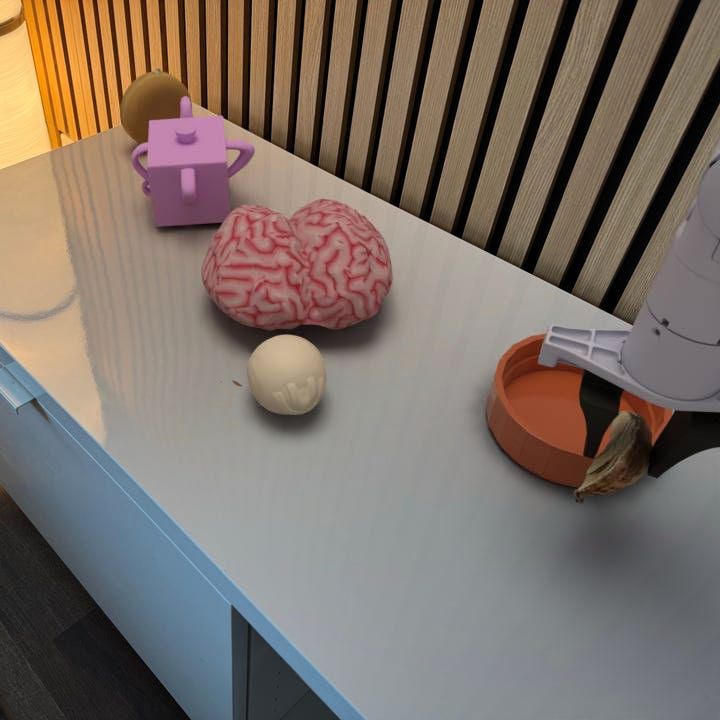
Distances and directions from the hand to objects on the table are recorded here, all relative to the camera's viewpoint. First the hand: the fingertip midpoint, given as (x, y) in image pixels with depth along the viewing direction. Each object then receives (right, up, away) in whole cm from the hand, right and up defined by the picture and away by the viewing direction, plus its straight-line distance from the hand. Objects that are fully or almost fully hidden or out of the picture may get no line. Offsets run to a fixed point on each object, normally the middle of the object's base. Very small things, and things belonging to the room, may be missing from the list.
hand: (621, 456), depth 52 cm
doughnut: (-37, +35, +48) cm, 70 cm away
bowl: (+2, +1, +13) cm, 13 cm away
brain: (-21, +13, +26) cm, 36 cm away
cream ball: (-22, +3, +16) cm, 27 cm away
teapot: (-31, +26, +38) cm, 56 cm away
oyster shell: (-1, -1, +1) cm, 2 cm away
